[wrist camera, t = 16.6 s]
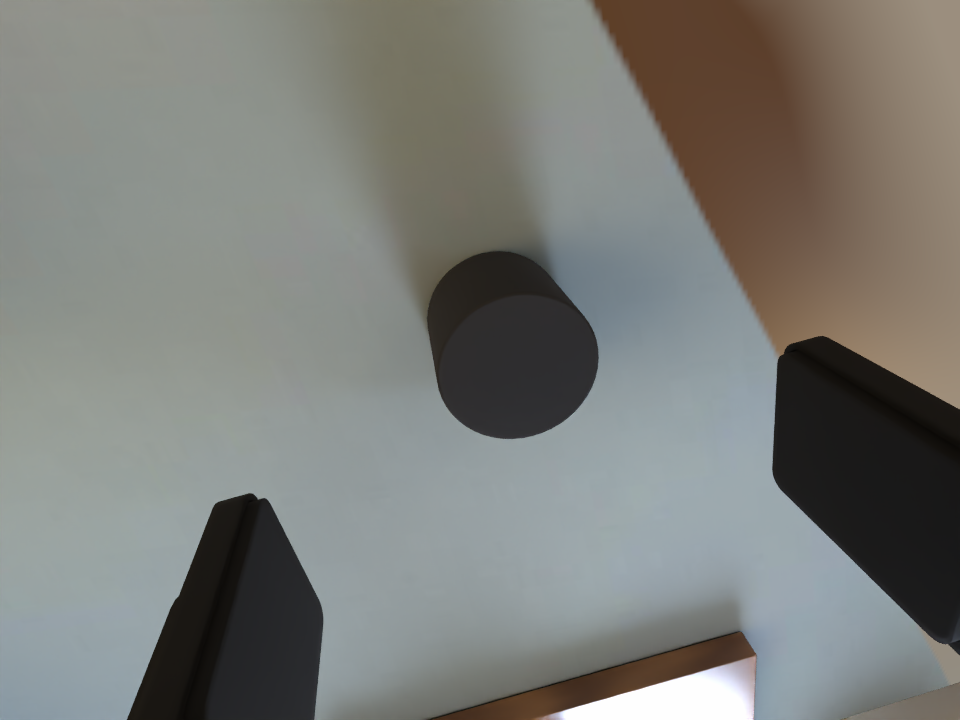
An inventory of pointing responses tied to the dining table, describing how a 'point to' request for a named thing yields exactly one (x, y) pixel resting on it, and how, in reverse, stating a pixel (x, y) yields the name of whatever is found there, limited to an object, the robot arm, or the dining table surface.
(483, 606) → the dining table surface
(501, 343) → the dot
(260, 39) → the dining table surface
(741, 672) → the board
